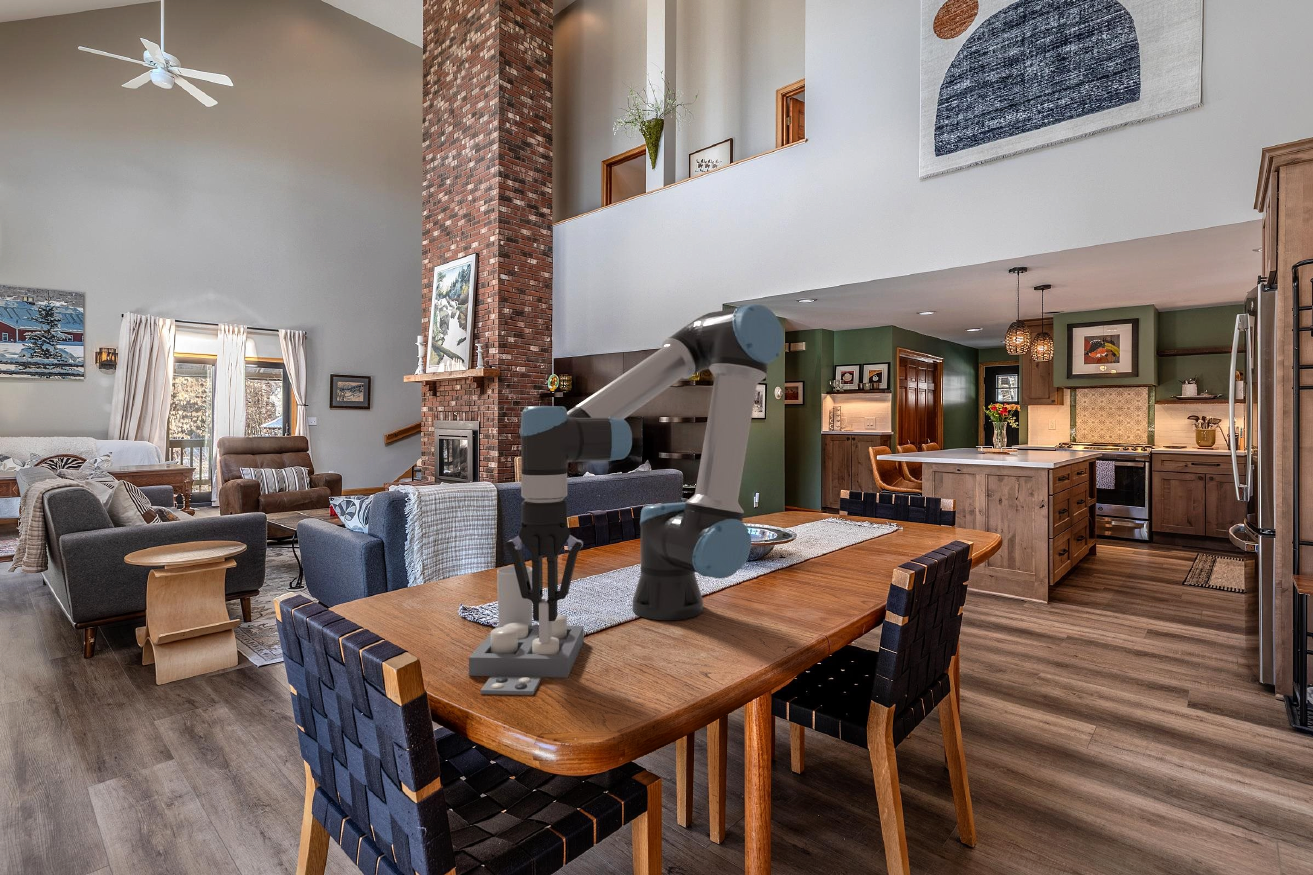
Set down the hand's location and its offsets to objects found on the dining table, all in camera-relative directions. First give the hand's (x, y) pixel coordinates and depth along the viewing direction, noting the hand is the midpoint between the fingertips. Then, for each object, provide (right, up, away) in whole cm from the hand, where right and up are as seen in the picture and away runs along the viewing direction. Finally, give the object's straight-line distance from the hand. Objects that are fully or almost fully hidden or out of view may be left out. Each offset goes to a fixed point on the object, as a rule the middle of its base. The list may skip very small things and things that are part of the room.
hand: (545, 639), depth 106 cm
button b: (-7, -4, +7) cm, 11 cm away
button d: (-7, -2, 0) cm, 7 cm away
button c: (0, -4, 0) cm, 4 cm away
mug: (-10, -4, +19) cm, 22 cm away
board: (-3, -4, +4) cm, 7 cm away
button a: (0, -2, +7) cm, 7 cm away
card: (-4, -5, -8) cm, 10 cm away
